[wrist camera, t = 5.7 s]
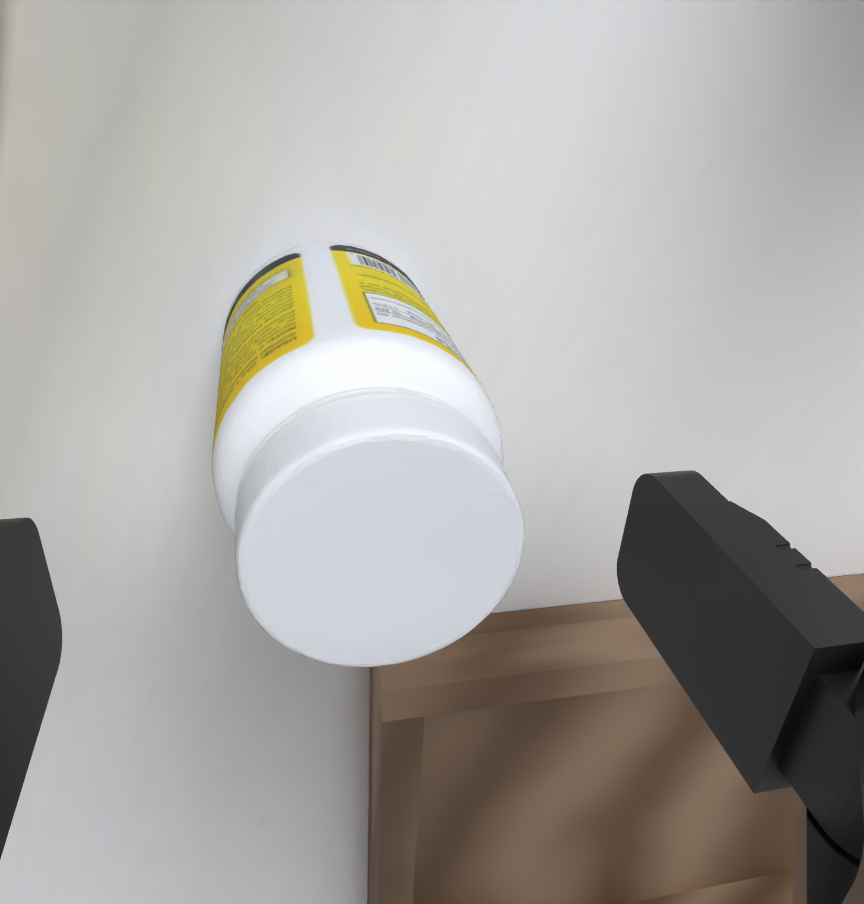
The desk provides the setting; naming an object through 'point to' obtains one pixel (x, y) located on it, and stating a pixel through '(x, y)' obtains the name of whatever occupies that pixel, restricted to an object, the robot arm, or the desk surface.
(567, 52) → the desk surface
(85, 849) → the desk surface
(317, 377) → the supplement bottle
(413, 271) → the desk surface
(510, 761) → the walnut tray
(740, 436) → the desk surface
